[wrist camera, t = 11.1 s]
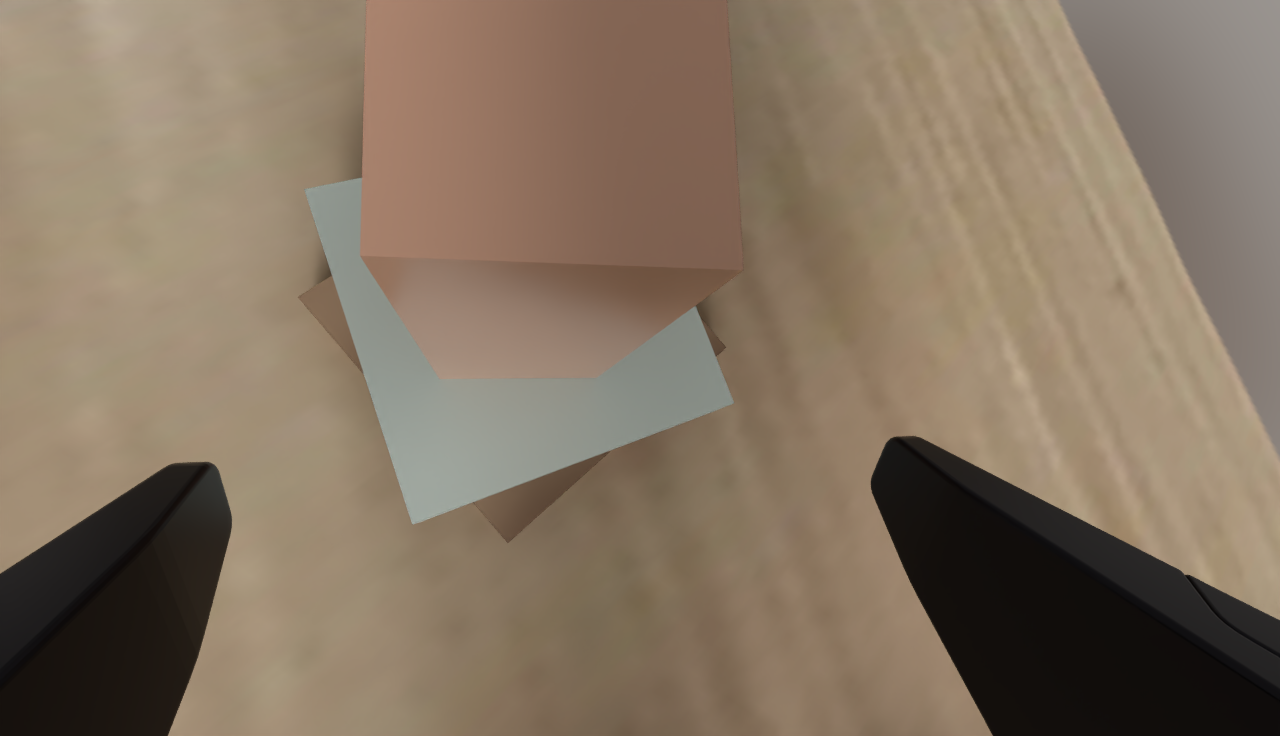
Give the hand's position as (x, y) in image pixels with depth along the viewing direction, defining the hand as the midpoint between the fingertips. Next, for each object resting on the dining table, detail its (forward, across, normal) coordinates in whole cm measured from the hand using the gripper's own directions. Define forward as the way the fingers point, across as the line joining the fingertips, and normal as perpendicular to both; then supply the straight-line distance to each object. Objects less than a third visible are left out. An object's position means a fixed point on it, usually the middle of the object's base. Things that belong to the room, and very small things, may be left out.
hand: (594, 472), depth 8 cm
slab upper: (+12, 0, +4) cm, 13 cm away
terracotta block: (+10, 0, +2) cm, 11 cm away
